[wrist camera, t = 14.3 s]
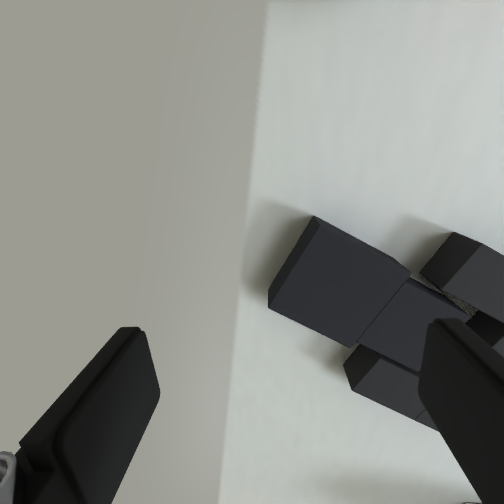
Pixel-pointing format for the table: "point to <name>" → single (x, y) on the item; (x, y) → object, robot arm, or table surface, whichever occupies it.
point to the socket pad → (482, 323)
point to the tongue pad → (357, 295)
